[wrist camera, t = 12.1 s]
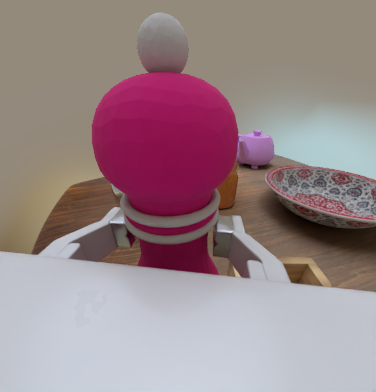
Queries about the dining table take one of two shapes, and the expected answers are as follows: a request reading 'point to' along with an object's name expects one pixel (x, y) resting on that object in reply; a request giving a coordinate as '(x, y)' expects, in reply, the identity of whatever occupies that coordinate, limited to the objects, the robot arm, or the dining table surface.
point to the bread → (228, 189)
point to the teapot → (255, 149)
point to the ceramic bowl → (326, 195)
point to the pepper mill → (166, 150)
